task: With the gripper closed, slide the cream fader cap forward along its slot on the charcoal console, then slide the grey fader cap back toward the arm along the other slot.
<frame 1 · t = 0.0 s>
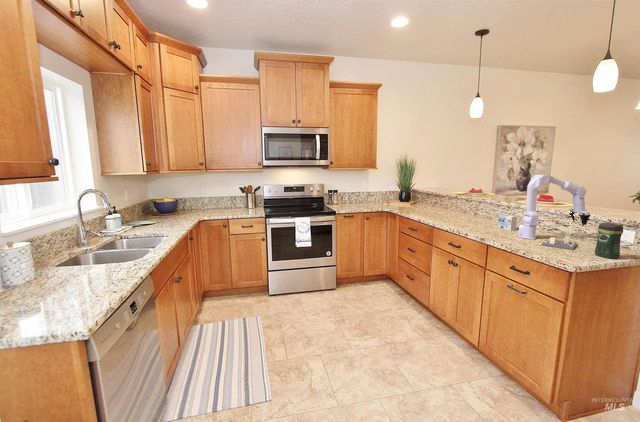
hand: (580, 223, 199), 11 cm above the worktop, tool pointing down, fingers open, 7 cm apart
coffee jar: (606, 257, 161), on the worktop
fader cap cream: (552, 240, 184), point 3 cm above the worktop, slide at 0.0 cm, touching fader console
light bulb box: (506, 229, 233), on the worktop
fader cap grey: (566, 240, 185), point 3 cm above the worktop, slide at 6.0 cm, touching fader console
fader console: (559, 245, 185), on the worktop
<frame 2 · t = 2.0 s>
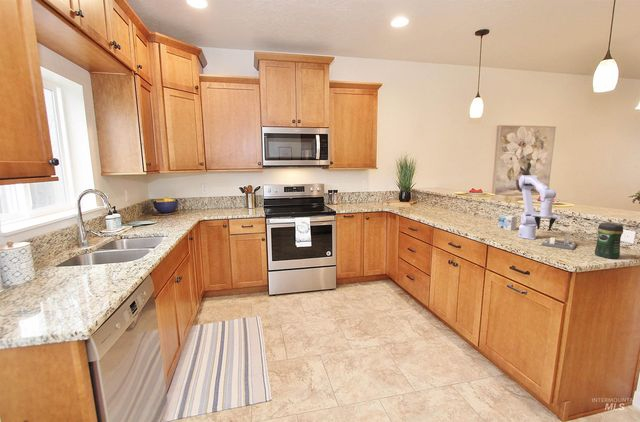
hand: (543, 229, 186), 9 cm above the worktop, tool pointing down, fingers open, 5 cm apart
nothing on the worktop moved.
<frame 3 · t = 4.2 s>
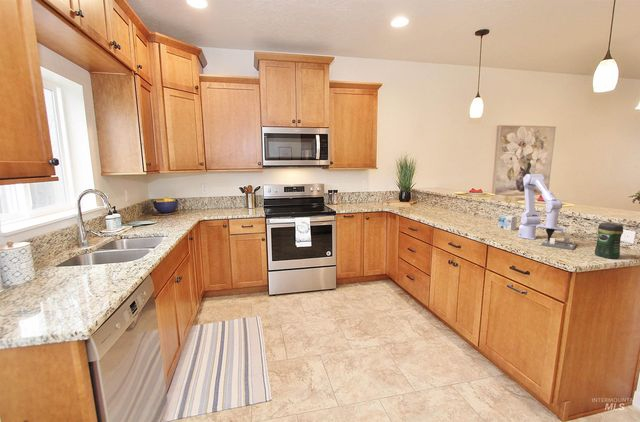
hand: (549, 240, 185), 3 cm above the worktop, tool pointing down, fingers closed, pressing on fader cap cream
fader cap cream: (552, 240, 184), point 3 cm above the worktop, slide at 0.0 cm, touching fader console, gripper
everything else where it was.
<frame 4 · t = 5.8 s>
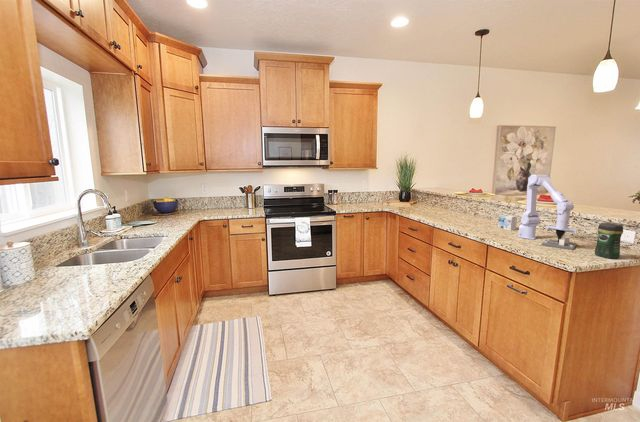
hand: (559, 242, 181), 3 cm above the worktop, tool pointing down, fingers closed, pressing on fader cap cream
fader cap cream: (562, 241, 181), point 3 cm above the worktop, slide at 4.6 cm, touching fader console, gripper
everything else where it was.
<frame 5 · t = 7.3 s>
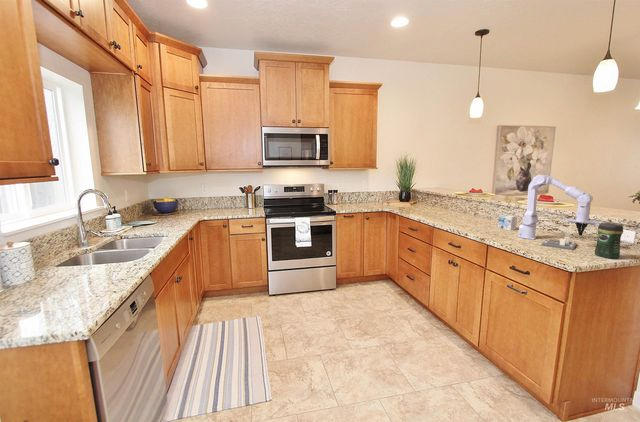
hand: (580, 235, 180), 7 cm above the worktop, tool pointing down, fingers closed
fader cap cream: (562, 241, 180), point 3 cm above the worktop, slide at 5.0 cm, touching fader console
everything else where it was.
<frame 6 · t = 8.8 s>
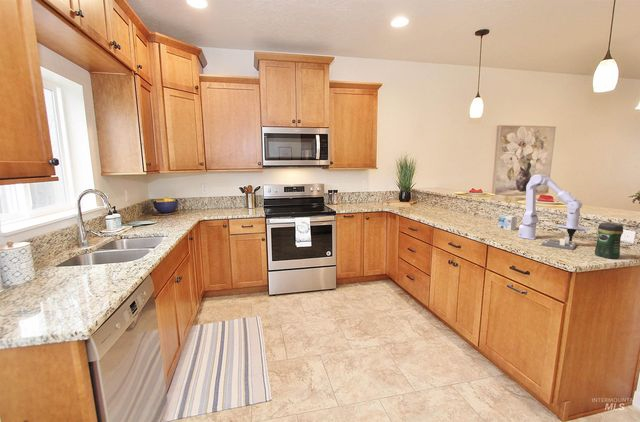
hand: (570, 241, 184), 3 cm above the worktop, tool pointing down, fingers closed, pressing on fader cap grey
fader cap grey: (566, 240, 185), point 3 cm above the worktop, slide at 6.0 cm, touching fader console, gripper
everything else where it was.
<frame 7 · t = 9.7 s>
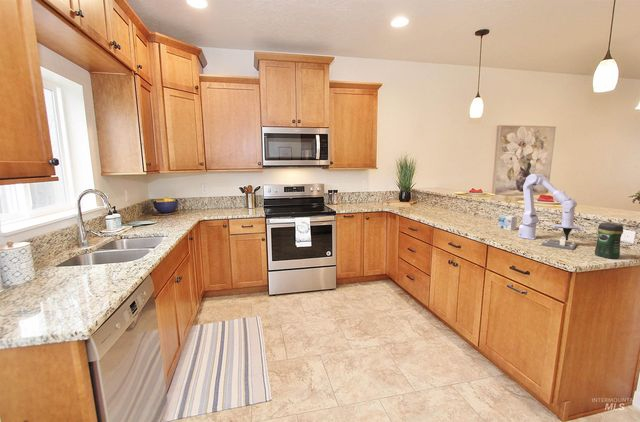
hand: (566, 240, 185), 3 cm above the worktop, tool pointing down, fingers closed, pressing on fader cap grey
fader cap grey: (563, 239, 186), point 3 cm above the worktop, slide at 4.3 cm, touching fader console, gripper
everything else where it was.
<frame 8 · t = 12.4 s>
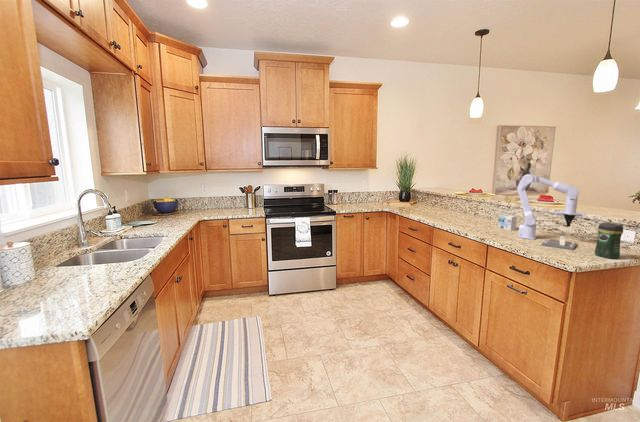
hand: (568, 226, 191), 10 cm above the worktop, tool pointing down, fingers closed
fader cap grey: (562, 239, 187), point 3 cm above the worktop, slide at 3.8 cm, touching fader console
everything else where it was.
at the end: fader cap cream slide at 5.0 cm; fader cap grey slide at 3.8 cm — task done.
